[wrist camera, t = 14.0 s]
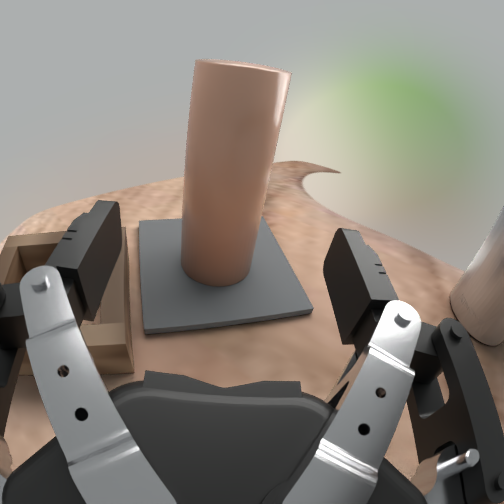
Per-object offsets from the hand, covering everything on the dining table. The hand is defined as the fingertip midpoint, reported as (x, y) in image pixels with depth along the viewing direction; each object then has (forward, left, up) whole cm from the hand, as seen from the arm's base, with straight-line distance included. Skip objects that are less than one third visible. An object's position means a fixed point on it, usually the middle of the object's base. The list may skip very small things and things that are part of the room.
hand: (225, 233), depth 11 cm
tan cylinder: (-3, -12, -11) cm, 16 cm away
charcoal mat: (-3, -11, -12) cm, 16 cm away
